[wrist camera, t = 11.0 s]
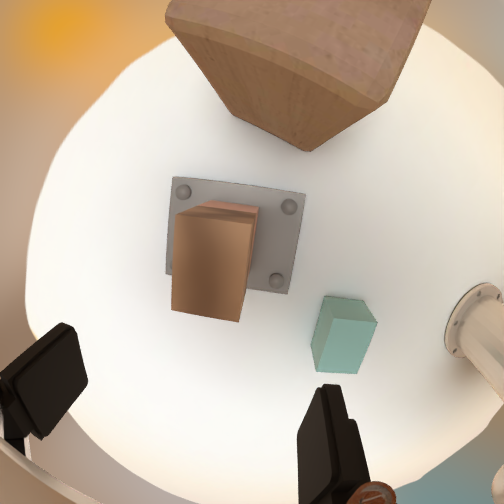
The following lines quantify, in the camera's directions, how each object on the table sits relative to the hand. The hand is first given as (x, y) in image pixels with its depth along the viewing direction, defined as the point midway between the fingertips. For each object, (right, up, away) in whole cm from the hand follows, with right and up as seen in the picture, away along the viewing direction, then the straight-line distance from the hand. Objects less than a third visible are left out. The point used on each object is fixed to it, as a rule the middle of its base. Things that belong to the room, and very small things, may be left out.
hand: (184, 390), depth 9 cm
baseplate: (0, +7, +21) cm, 22 cm away
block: (+6, +22, +17) cm, 28 cm away
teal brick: (+13, -4, +23) cm, 27 cm away
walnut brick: (0, +5, +15) cm, 16 cm away
